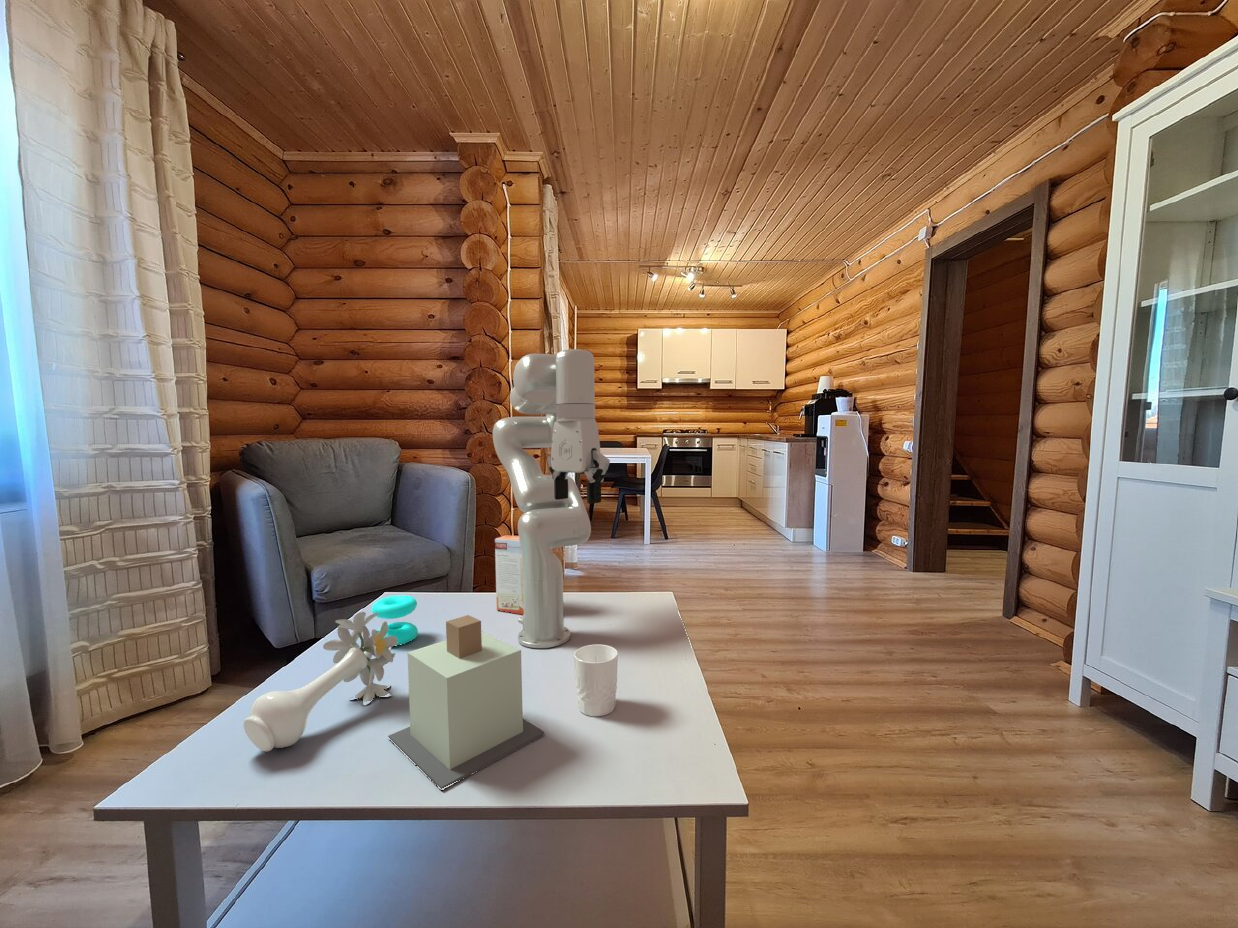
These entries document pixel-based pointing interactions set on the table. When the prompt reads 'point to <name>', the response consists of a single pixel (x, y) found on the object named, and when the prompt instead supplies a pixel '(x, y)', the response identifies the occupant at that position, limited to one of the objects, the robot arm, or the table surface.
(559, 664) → the table surface
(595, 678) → the white cup
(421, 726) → the pale green block
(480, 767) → the mat
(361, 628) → the flower vase
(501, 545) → the cracker box
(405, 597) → the donuts
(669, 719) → the table surface
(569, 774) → the table surface
